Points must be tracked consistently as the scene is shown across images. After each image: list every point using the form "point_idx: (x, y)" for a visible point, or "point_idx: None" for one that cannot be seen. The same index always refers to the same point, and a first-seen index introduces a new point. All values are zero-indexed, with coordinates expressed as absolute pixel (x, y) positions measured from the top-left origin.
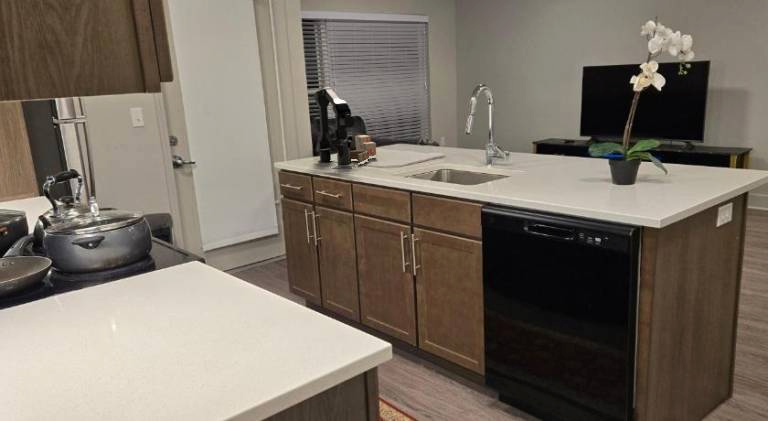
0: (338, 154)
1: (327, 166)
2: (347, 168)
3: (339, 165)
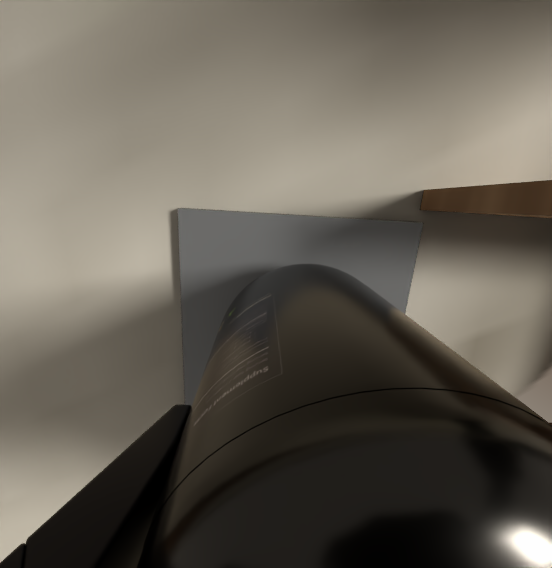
0: (200, 399)
1: (384, 38)
2: (185, 399)
3: (385, 230)
